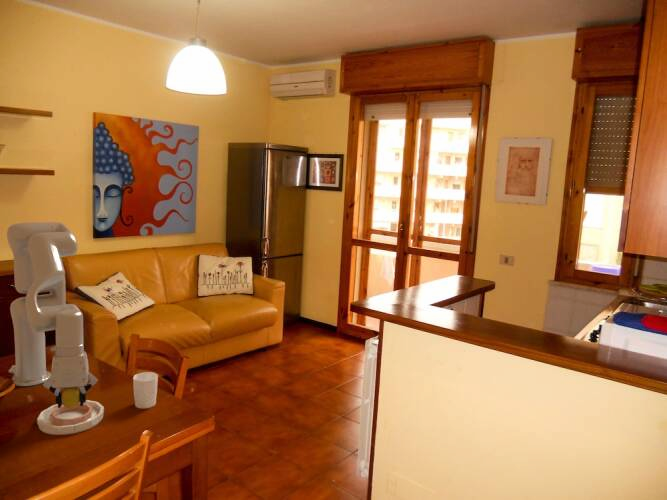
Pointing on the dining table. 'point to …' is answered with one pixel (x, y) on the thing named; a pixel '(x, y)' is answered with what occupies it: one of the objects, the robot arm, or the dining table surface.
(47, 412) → the fruit dish
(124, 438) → the dining table surface
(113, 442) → the dining table surface
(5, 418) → the dining table surface
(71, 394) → the lemon
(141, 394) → the white cup
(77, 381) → the robot arm
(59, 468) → the dining table surface
